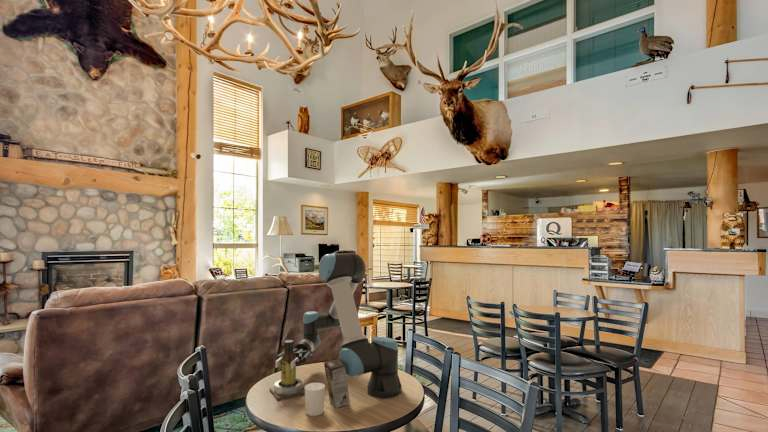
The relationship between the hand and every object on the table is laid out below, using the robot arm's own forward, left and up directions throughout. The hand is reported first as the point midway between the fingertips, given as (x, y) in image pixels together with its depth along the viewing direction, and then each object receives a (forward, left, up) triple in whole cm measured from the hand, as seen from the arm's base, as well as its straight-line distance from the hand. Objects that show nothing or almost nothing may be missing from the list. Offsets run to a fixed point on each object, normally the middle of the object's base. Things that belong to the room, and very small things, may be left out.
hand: (283, 365), depth 175 cm
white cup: (-20, -6, -14) cm, 25 cm away
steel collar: (+4, -3, -13) cm, 14 cm away
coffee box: (-17, -18, -13) cm, 28 cm away
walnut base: (+4, -3, -13) cm, 14 cm away
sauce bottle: (+4, -3, -11) cm, 12 cm away
